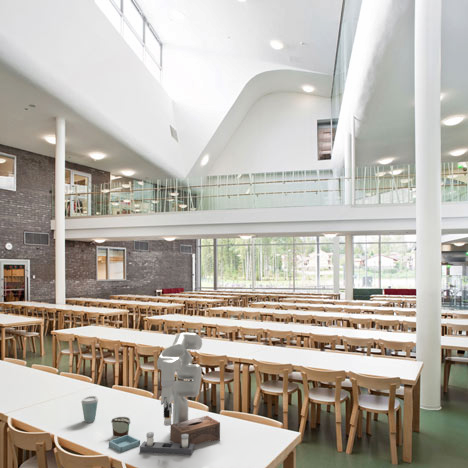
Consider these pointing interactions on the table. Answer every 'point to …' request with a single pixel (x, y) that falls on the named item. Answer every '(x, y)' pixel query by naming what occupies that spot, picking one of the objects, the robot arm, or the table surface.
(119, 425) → the food container
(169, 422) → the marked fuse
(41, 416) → the table surface
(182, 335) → the robot arm
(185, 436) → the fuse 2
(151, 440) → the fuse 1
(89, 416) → the disposable coffee cup
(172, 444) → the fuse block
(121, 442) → the tray
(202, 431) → the tissue box cover
